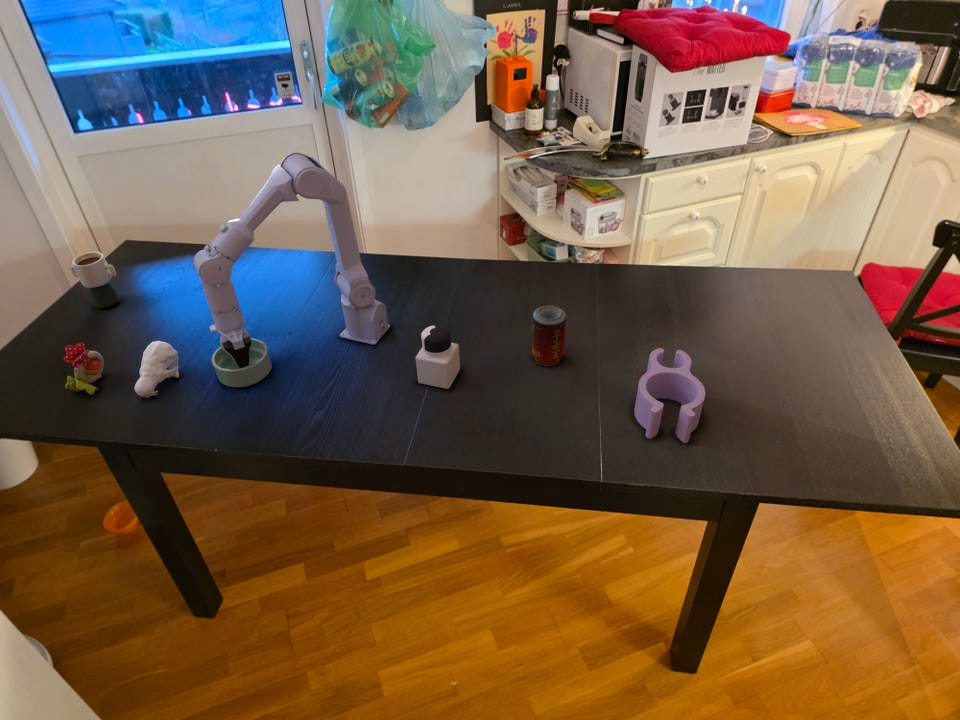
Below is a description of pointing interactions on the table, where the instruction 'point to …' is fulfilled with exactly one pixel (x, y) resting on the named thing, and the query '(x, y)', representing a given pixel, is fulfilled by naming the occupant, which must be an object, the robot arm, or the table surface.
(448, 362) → the medicine bottle
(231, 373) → the bowl
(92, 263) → the character mug
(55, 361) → the table surface
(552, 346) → the soda can
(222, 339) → the lightbulb
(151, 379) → the white crouching figurine
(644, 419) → the clip
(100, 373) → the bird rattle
